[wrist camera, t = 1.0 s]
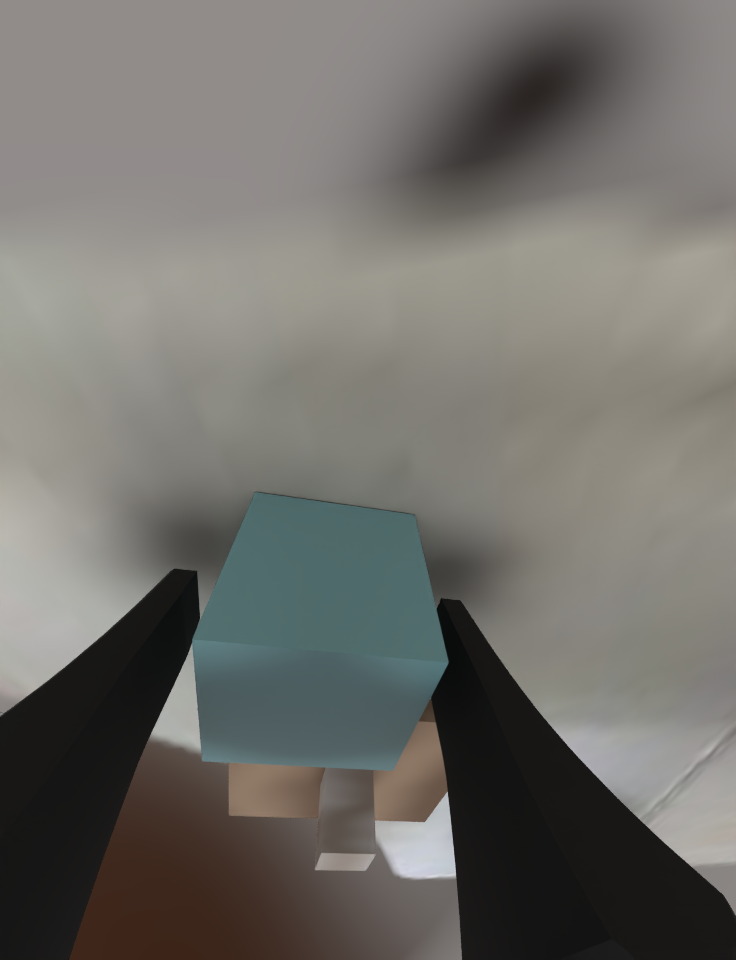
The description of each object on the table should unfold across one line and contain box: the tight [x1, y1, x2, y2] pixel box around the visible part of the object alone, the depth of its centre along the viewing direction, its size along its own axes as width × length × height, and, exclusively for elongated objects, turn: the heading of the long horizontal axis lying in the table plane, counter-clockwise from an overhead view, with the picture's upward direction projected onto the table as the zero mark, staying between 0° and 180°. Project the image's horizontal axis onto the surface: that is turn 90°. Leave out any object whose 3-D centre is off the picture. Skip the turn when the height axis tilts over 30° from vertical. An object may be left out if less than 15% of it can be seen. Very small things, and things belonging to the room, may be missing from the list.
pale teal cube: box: [192, 492, 449, 771], centre depth 10 cm, size 5×5×5 cm
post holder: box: [229, 700, 448, 871], centre depth 18 cm, size 12×12×4 cm
